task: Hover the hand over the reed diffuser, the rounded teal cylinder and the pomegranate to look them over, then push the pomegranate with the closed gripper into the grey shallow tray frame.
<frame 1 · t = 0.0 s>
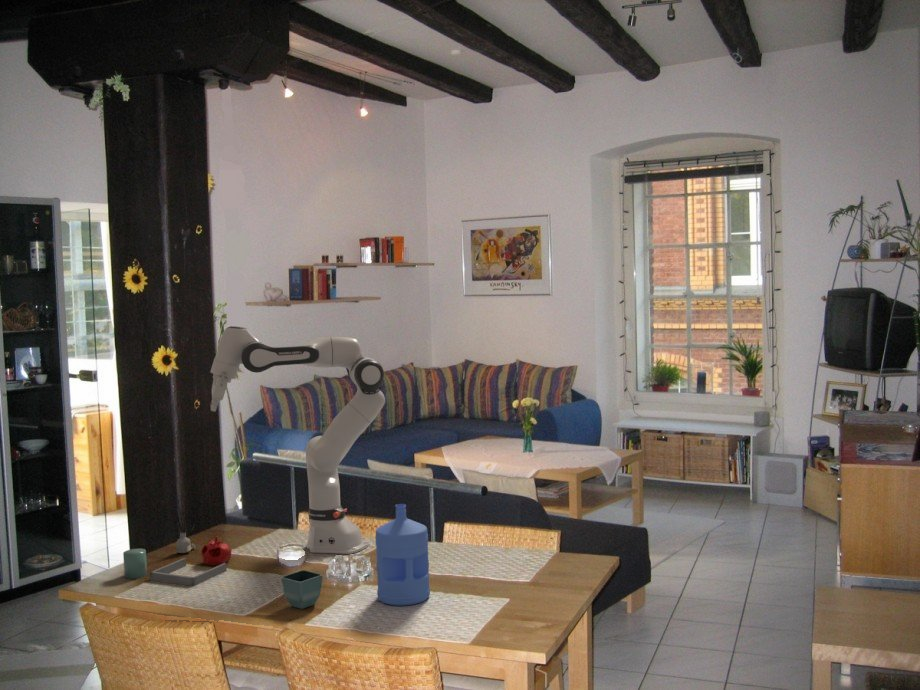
hand: (212, 409, 315), 52 cm above the table, tool tilted 20°, fingers open, 8 cm apart
water jug: (403, 598, 272), on the table
rounded teal cylinder: (135, 575, 300), on the table
grey shallow tray frame: (190, 574, 300), on the table
pomegranate: (216, 563, 312), on the table
reed diffuser: (182, 552, 325), on the table
flower pot: (303, 606, 267), on the table
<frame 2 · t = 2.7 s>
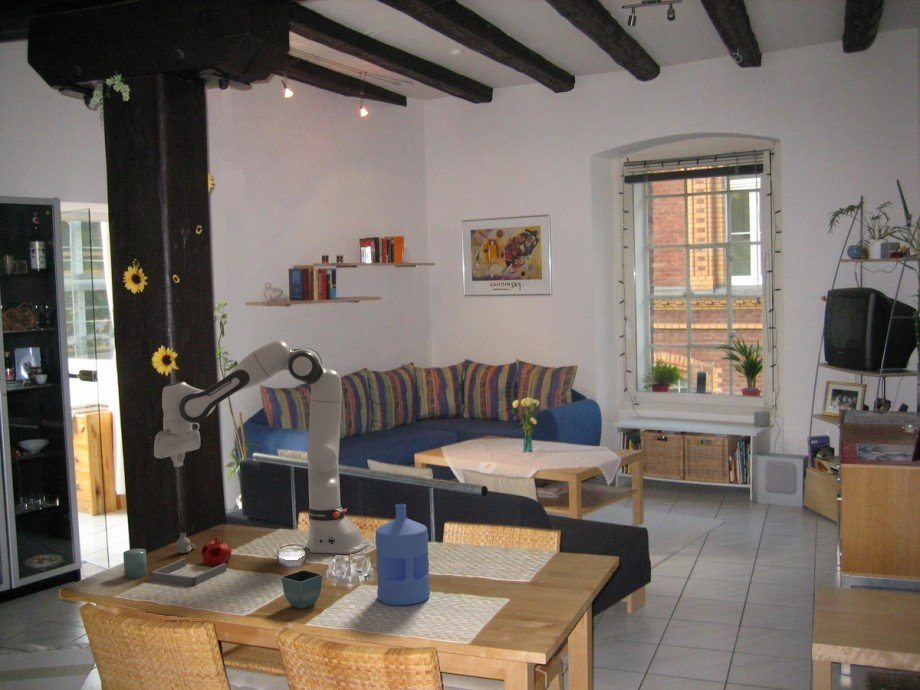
hand: (178, 466, 323), 31 cm above the table, tool pointing down, fingers closed
nothing on the table moved.
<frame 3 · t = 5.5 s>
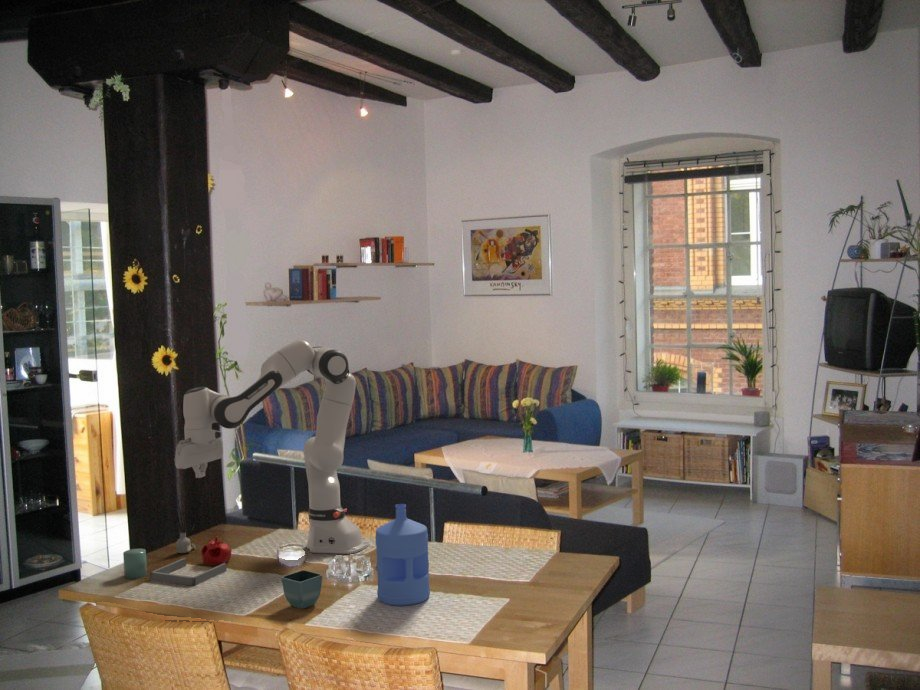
hand: (200, 477, 304), 31 cm above the table, tool pointing down, fingers closed
nothing on the table moved.
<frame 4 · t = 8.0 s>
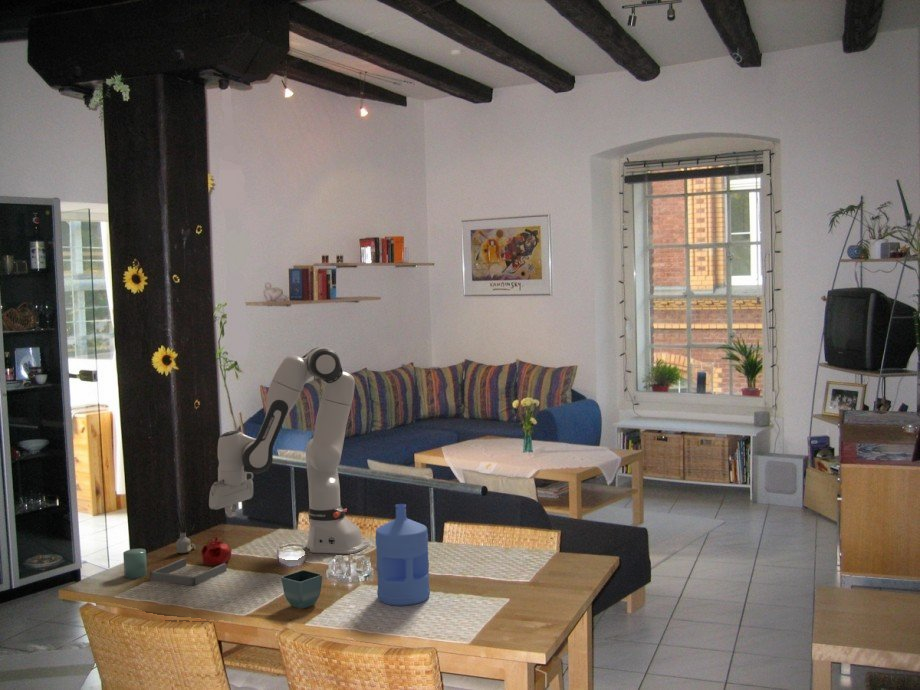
hand: (231, 516, 320), 14 cm above the table, tool pointing down, fingers closed
nothing on the table moved.
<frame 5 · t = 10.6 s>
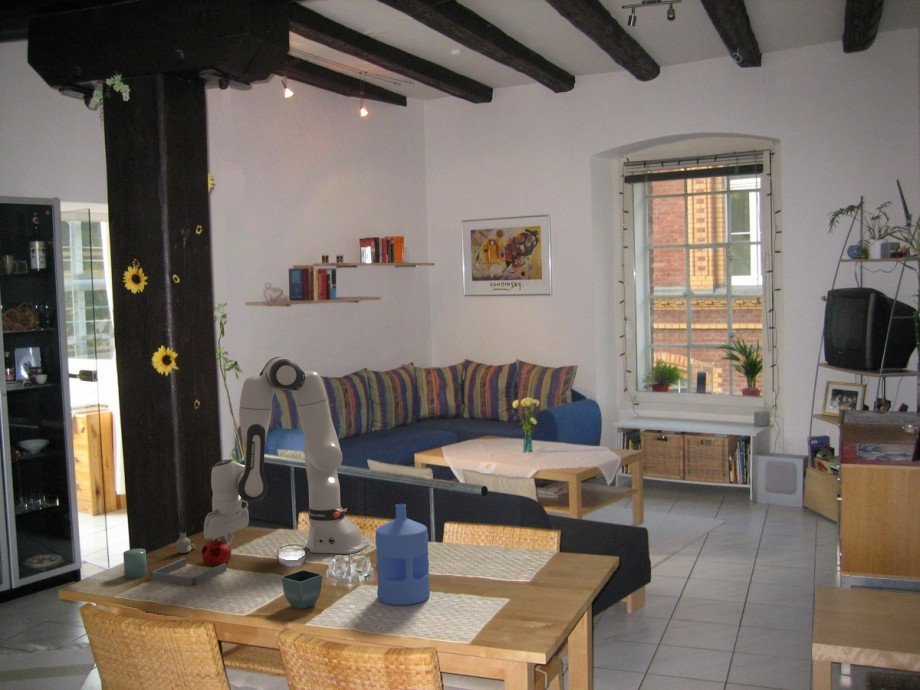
hand: (227, 545, 317), 4 cm above the table, tool pointing down, fingers closed
pomegranate: (216, 563, 311), on the table, touching gripper
everything else where it was.
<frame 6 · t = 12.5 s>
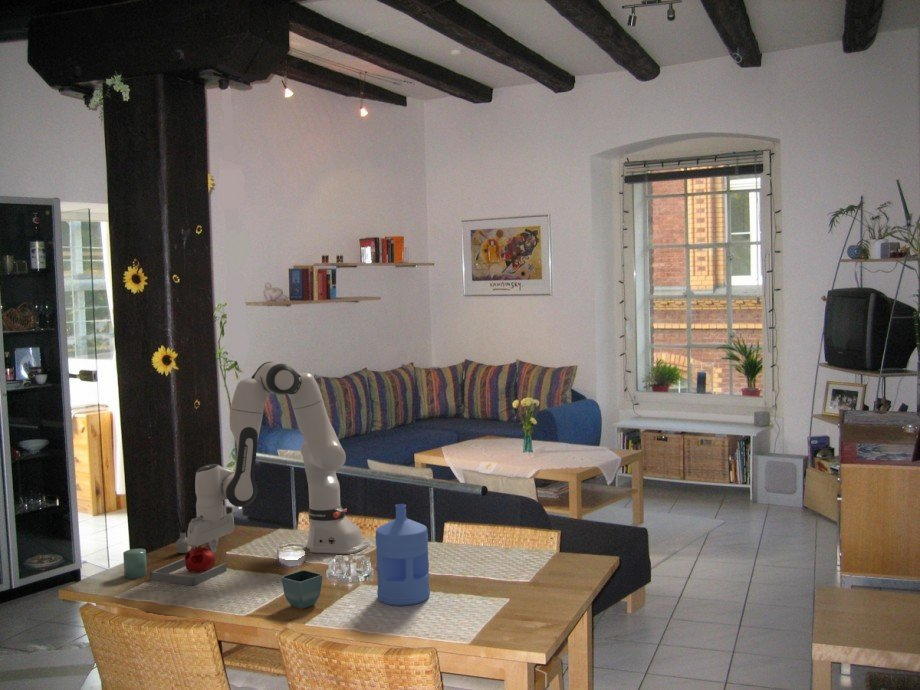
hand: (212, 552, 309), 4 cm above the table, tool pointing down, fingers closed
pomegranate: (200, 570, 304), on the table, touching gripper
everything else where it was.
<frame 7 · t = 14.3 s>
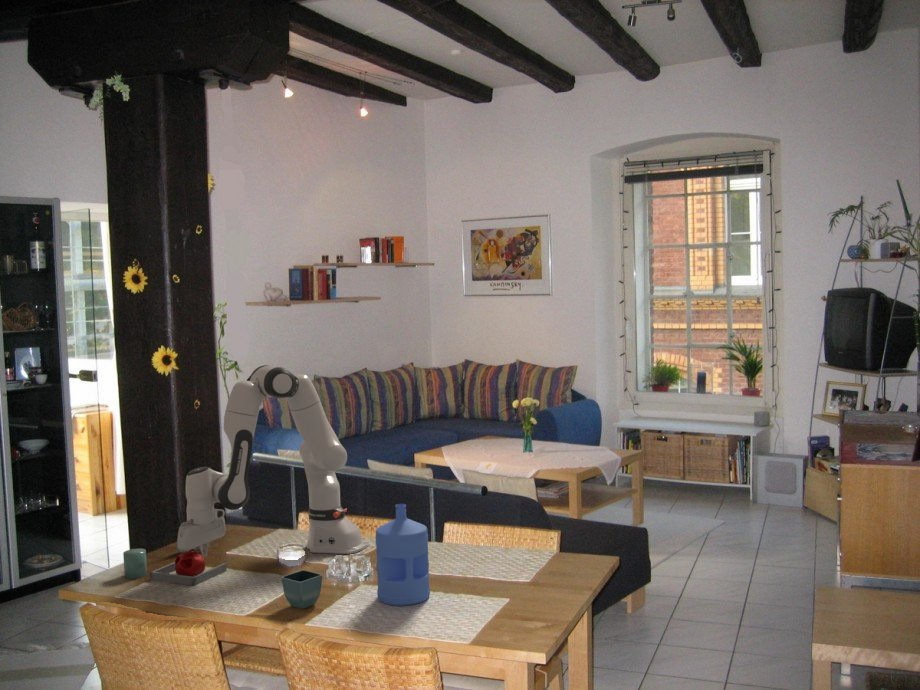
hand: (202, 556, 305), 4 cm above the table, tool pointing down, fingers closed
pomegranate: (190, 574, 300), on the table, touching gripper
everything else where it was.
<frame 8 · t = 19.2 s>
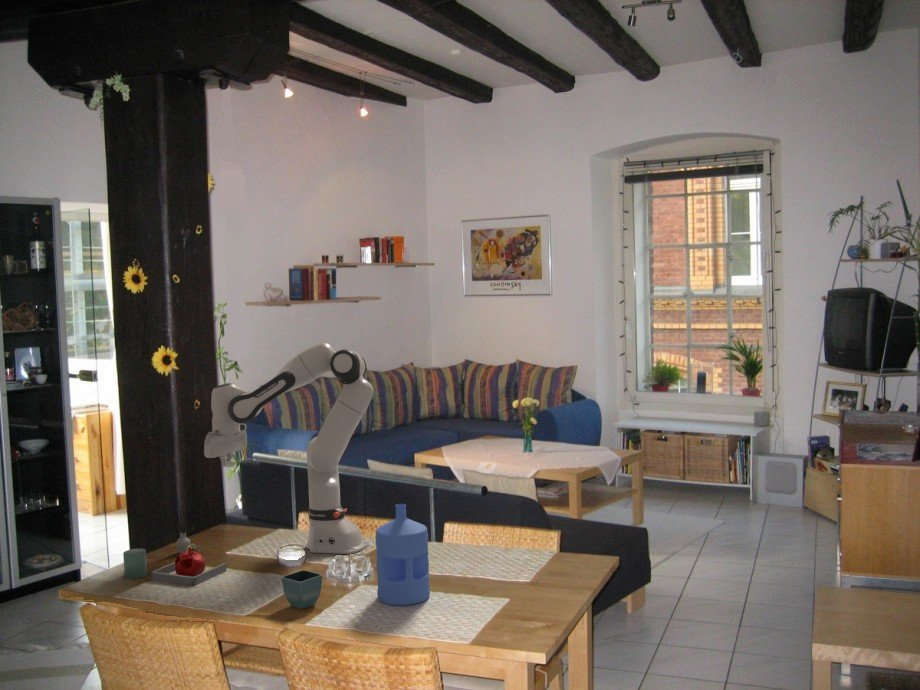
hand: (226, 465, 332), 29 cm above the table, tool pointing down, fingers closed
pomegranate: (190, 575, 300), on the table
everything else where it was.
at the end: pomegranate inside the target area on the grey shallow tray frame (1.5 cm from its centre), point 0.0 cm above the grey shallow tray frame's base; reed diffuser moved 0.2 cm from its start; rounded teal cylinder moved 0.1 cm from its start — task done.
